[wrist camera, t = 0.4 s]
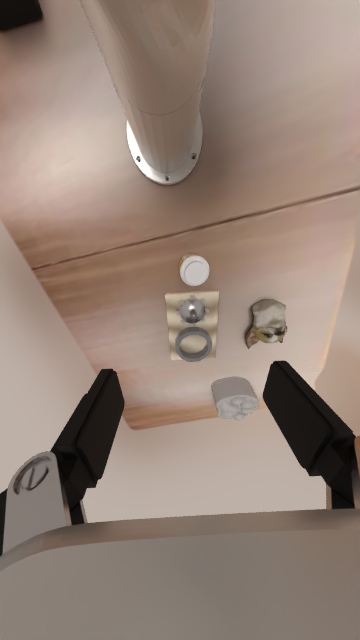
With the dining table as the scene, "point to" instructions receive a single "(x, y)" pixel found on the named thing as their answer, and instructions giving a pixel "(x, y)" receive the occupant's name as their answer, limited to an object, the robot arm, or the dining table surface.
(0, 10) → the battery
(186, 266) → the supplement bottle
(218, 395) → the lumpy-topped squat cylinder
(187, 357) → the socket ring
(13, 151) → the dining table surface
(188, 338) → the gear board
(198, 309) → the gear
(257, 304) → the ceramic sculpture
